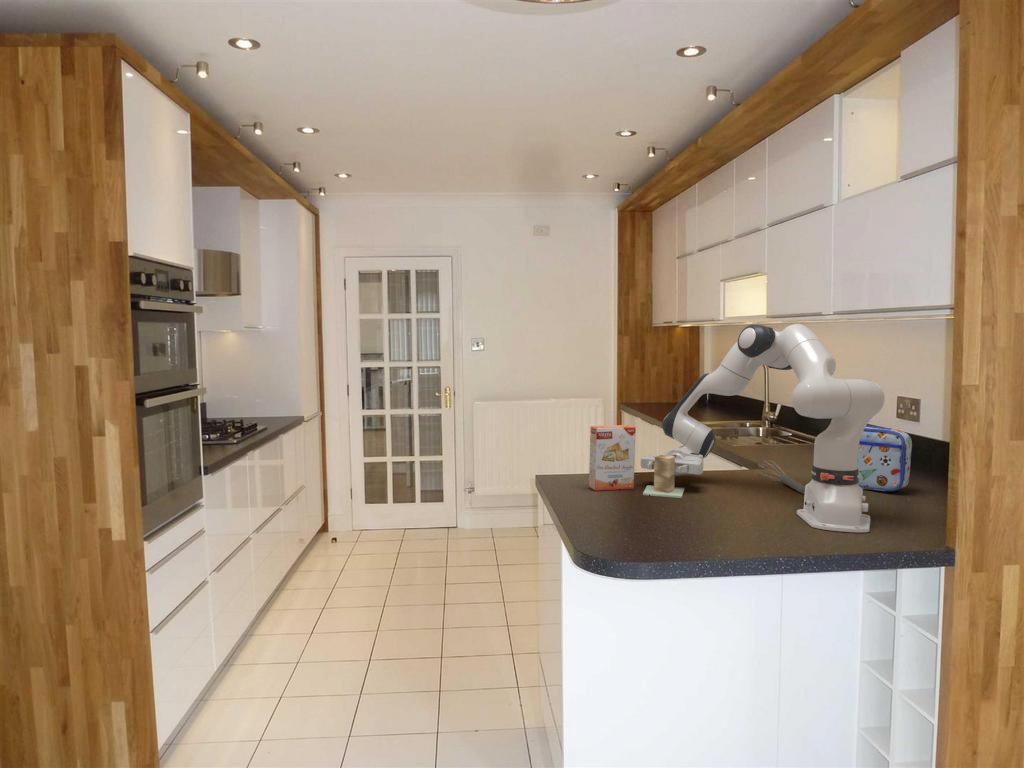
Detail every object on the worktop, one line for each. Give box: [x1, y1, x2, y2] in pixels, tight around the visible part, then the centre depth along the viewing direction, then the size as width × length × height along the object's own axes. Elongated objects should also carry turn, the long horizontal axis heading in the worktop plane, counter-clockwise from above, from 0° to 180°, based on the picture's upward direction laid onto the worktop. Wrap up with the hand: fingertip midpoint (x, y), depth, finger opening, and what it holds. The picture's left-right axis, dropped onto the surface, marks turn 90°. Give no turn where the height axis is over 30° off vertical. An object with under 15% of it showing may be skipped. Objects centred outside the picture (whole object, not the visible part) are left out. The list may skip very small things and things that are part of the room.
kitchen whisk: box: [757, 460, 806, 496], centre depth 233 cm, size 6×34×6 cm, turn 5°
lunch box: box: [857, 424, 913, 492], centre depth 229 cm, size 28×10×22 cm, turn 43°
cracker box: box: [588, 424, 636, 492], centre depth 225 cm, size 14×6×21 cm, turn 105°
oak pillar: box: [653, 454, 676, 493], centre depth 220 cm, size 5×5×11 cm
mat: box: [642, 485, 685, 499], centre depth 220 cm, size 12×12×1 cm
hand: (663, 468), depth 219 cm, fingers open, 8 cm apart
